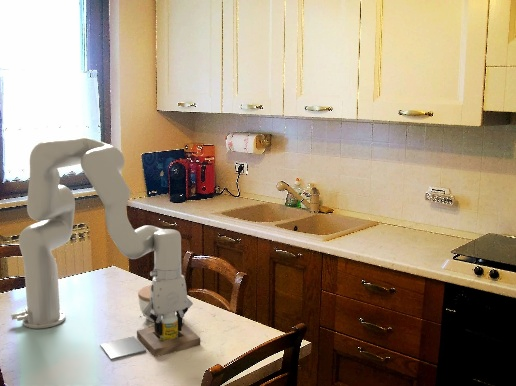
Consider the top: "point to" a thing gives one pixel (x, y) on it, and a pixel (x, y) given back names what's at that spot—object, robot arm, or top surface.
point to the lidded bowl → (145, 300)
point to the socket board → (158, 348)
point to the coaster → (122, 348)
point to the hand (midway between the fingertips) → (168, 330)
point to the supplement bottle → (169, 326)
